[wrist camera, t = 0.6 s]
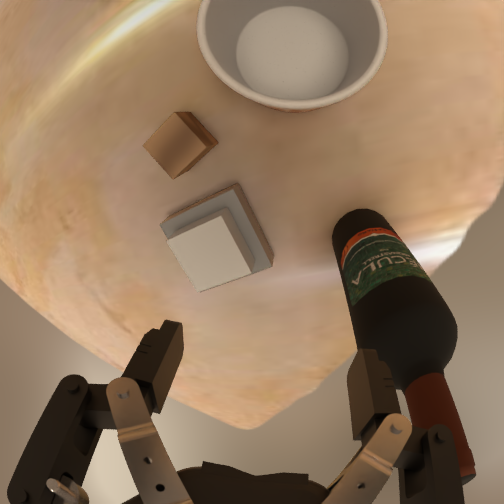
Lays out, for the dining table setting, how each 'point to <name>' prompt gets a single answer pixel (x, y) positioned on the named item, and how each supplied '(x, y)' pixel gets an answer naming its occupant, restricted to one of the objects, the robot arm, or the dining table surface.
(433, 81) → the dining table surface
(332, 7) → the vase
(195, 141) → the walnut block
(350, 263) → the wine bottle
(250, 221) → the plinth
